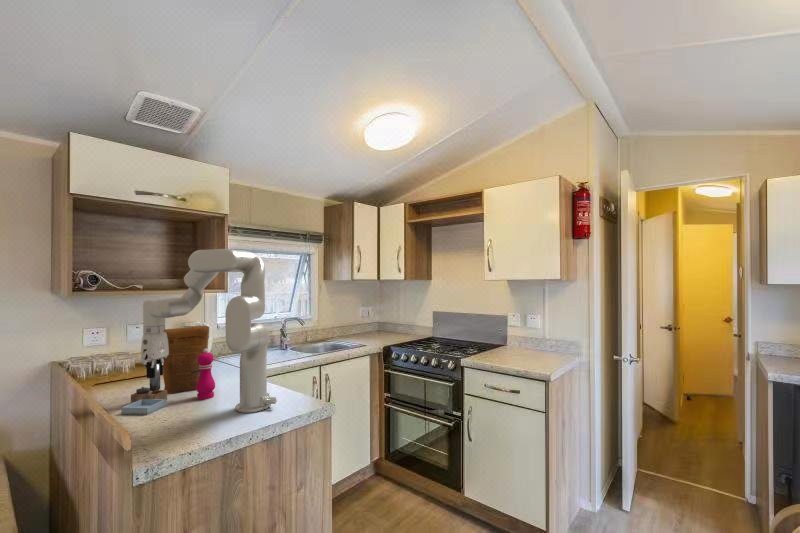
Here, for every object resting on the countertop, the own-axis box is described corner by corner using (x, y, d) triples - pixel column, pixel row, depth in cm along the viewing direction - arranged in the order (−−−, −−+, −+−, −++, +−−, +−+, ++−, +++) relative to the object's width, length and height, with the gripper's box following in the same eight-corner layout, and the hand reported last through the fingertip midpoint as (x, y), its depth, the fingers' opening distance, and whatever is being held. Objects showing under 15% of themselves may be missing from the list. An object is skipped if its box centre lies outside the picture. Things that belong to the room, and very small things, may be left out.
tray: (166, 405, 151) (166, 399, 151) (147, 414, 141) (147, 407, 141) (142, 405, 152) (142, 398, 152) (121, 414, 142) (121, 407, 142)
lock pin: (162, 388, 156) (162, 363, 157) (155, 390, 153) (155, 365, 153) (154, 388, 157) (153, 363, 157) (147, 390, 153) (147, 365, 154)
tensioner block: (167, 399, 158) (167, 385, 158) (154, 405, 151) (154, 389, 151) (144, 399, 159) (144, 384, 159) (130, 405, 152) (130, 389, 152)
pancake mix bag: (210, 389, 173) (210, 325, 174) (159, 396, 163) (159, 329, 164) (209, 385, 179) (209, 324, 179) (160, 392, 169) (160, 327, 170)
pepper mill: (219, 395, 163) (219, 347, 164) (206, 400, 156) (206, 350, 157) (204, 394, 165) (204, 346, 166) (191, 399, 158) (191, 349, 159)
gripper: (147, 333, 147) (148, 382, 146) (177, 327, 163) (177, 371, 163) (129, 333, 148) (129, 382, 147) (160, 327, 164) (160, 371, 164)
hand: (154, 376), depth 155 cm, fingers closed on lock pin, 3 cm apart
